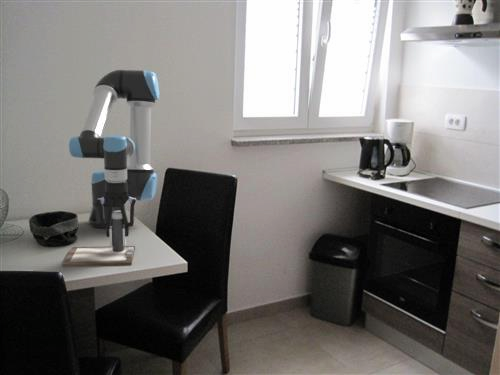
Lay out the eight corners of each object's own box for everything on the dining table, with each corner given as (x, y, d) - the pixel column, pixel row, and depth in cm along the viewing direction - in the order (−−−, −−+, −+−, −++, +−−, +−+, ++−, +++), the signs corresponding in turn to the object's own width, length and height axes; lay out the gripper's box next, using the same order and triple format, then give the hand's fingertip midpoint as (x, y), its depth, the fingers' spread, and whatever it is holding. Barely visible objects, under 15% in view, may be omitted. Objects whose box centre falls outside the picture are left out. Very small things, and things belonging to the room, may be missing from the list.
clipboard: (72, 249, 171) (72, 243, 171) (135, 248, 175) (135, 242, 174) (62, 266, 156) (62, 260, 156) (131, 264, 159) (131, 258, 159)
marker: (112, 248, 171) (111, 210, 168) (124, 247, 172) (123, 210, 169) (111, 252, 167) (110, 213, 164) (124, 251, 168) (123, 213, 165)
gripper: (88, 182, 159) (91, 249, 164) (140, 182, 162) (141, 248, 167) (92, 178, 166) (95, 242, 171) (141, 178, 169) (142, 241, 174)
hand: (117, 244), depth 169 cm, fingers closed on marker, 4 cm apart
